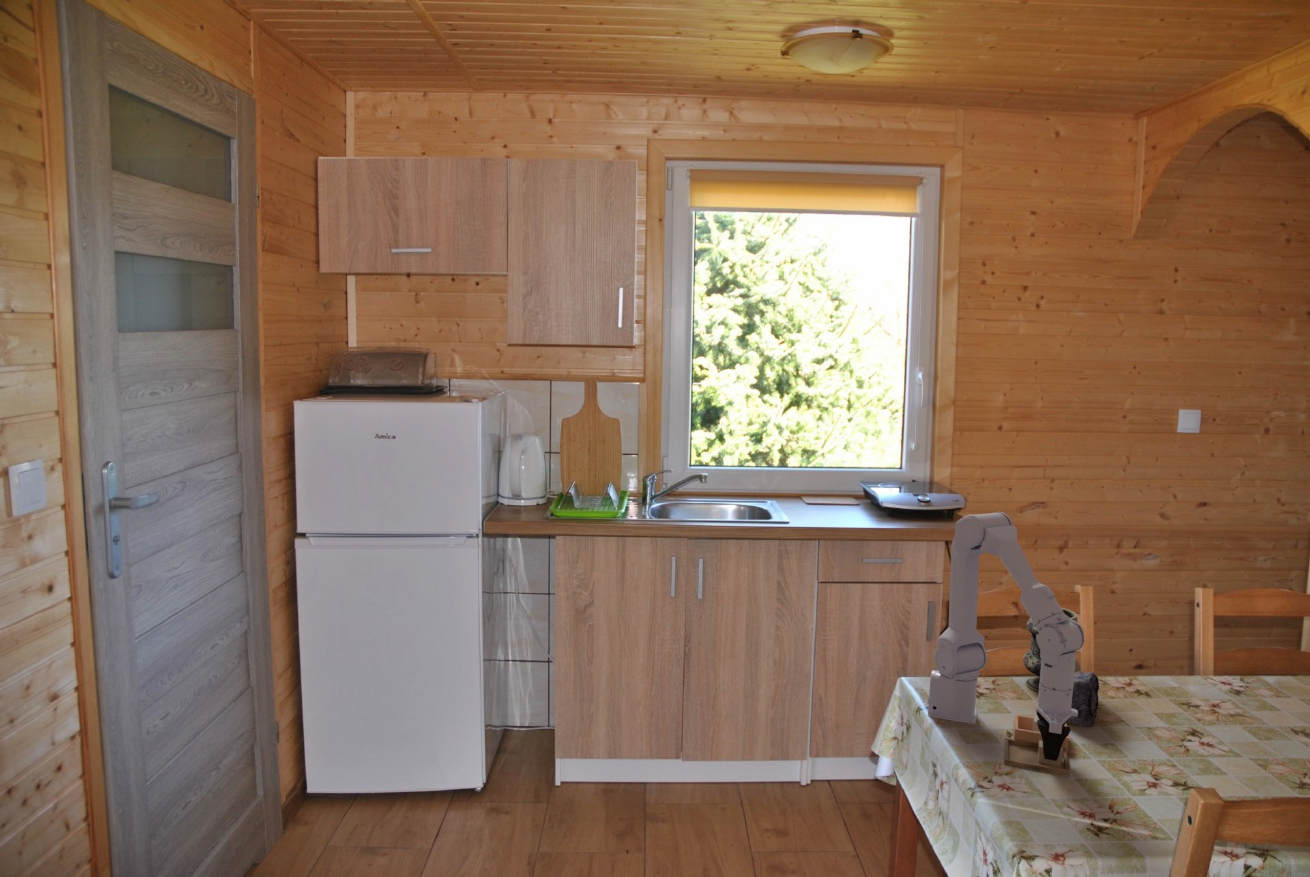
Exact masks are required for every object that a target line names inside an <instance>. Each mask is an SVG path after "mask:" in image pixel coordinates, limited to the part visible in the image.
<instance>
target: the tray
mask: <svg viewBox="0 0 1310 877" xmlns="http://www.w3.org/2000/svg"><path fill="white" fill-rule="evenodd" d="M1038 746H1039V744H1038V743H1032V742H1026V741H1020V740H1015V739H1014V738H1007V737H1005V738H1004V765H1007V766H1011V767H1012V766H1013V767H1018V768H1023V769H1029V770H1034V771H1039V772H1045V773H1051V774H1056V775H1061V776H1066V777H1070V766H1069V758H1068V752H1067V751H1066V748H1063V755H1062V766H1057V765H1052V764H1046V763H1041V762H1038Z"/></svg>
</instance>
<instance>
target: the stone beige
mask: <svg viewBox="0 0 1310 877" xmlns="http://www.w3.org/2000/svg"><path fill="white" fill-rule="evenodd" d="M1062 755H1063V748H1062V747H1061V750H1060V753H1059V756H1058V759H1057V761H1053V760H1048V759H1045V758H1044V753H1043V741H1041V740H1039V746H1038V762H1041V763H1046V764H1052V765H1057V766H1062Z"/></svg>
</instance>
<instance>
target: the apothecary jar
mask: <svg viewBox="0 0 1310 877" xmlns="http://www.w3.org/2000/svg"><path fill="white" fill-rule="evenodd" d="M1061 609H1062V610H1063V612H1064V614H1065V615H1067V616H1069V618H1070V619H1071V620H1074V621H1076V622H1077V623H1078V624H1079V625H1080V626H1081V629H1082V631H1083V633H1084V632H1085V631H1084V628H1083V627H1082V625H1081V624H1080V623H1079V622H1078V615H1077V613H1076V612H1075V611H1072V610H1070V609H1067V608H1064V607H1061ZM1026 627H1027V630H1028V631H1029V633H1031V640H1030V646H1029V649H1028V650H1027V651H1026V652H1025V653H1024V655H1023V656H1022V663H1023V665H1024V667H1025V668H1026V669H1027V671H1029V672H1030V673H1032V675H1035V677H1034V676H1033V677H1030V678H1028V679H1027V680H1026V681H1025V686H1026V687H1027V688H1028V689H1030V690H1032V691H1035V692H1036V691H1037V692H1036V693H1039V684H1040V673H1041V661H1042V660H1041V658H1040V648H1039V646H1038V644H1037V641H1036V635H1038V634H1039V632H1038V630H1037V628H1036V627H1035V625H1034V623H1033V621H1032V620H1031V618H1030V617H1029V619H1028V620H1027V623H1026ZM1074 652H1076V653H1077V651H1074ZM1079 671H1081V664H1080V662H1079V661H1078V660H1077V659H1076V662H1075V672H1074V673H1076V672H1079Z"/></svg>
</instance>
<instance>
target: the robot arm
mask: <svg viewBox="0 0 1310 877" xmlns="http://www.w3.org/2000/svg"><path fill="white" fill-rule="evenodd" d="M954 530H955V531H954V536H953V539H952V542H951V548H950V569H949V570H950V574H949V579H950V580H949V599H948V600H949V601H948V602H949V604H948V627H947V629H946V630H944V631H943V633H941V635H940V636H938V639H937V646H936V648H935V651H934V654H933V661H934V665H935V667H936V670H935V669H932V670H931V673H930V681H929V682H930V683H929V694H928V696H927V705H928V707H927V708H928V709H927V717H931V718H935V719H936V718H937V719H942V720H947V721H952V722H959V723H963V724H971V725H976V724H977V712H978V710H977V708H976V702H977V701H976V700H977V699H976V698H977V688H978V687H977V685H978V676H980V675H981V670H983V669H984V668H985V667H986V665H987V662H988V654H987V650H986V647H985V637H984V636H983V635H982V634H981V633H980V632H979V631H978V630H977V625H978V624H977V623H978V622H977V621H978V596H979V594H978V593H979V572H980V571H979V568H980V566H979V565H980V556H981V555H982V554H984V553H986V554H989V555H993V556H996V557H998V558H999V559H1000V561H1001V562H1002V564H1003V565H1004V567H1005V568H1006V570H1007V571H1008V573H1009V574H1010V575H1011V577H1012V578H1013V580H1014V582H1015V583H1016V585H1017V586H1018V587H1019V589H1020V590H1021V593H1020V598H1019V601H1020V602H1021V604H1022V606H1023V608H1024V609H1025V612H1027V615H1028V617H1029V619H1030V618H1031V620H1032V621H1033V623H1034V625H1035V627H1036V628H1037V630H1038V632H1039V634H1038V635H1036V641H1037V644H1038V646H1039V648H1040V658H1041V660H1042V661H1041V673H1040V684H1039V692H1038V697H1037V703H1036V708H1035V709H1036V710H1035V711H1036V716H1038V718H1039V720H1037V725H1038V728H1039V730H1040V733H1041V736H1042V741H1043V753H1044V758H1045V759H1048V760H1053V761H1057V759H1058V756H1059V753H1060V750H1061V747H1062V744H1063V742H1064V740H1065V739H1066V737H1067V736H1068V737H1069V735H1070V733H1071V726H1064V725H1065V724H1067V721H1068V719H1069V718H1070V717H1071V716H1075V717H1077V716H1078V711H1077V710H1076V709H1072V708H1071V704H1072V694H1073V683H1074V672H1075V662H1076V660H1077V659H1076V658H1077V651H1079V650H1081V649H1082V648H1083V646H1084V644H1085V634H1084V633H1083V631H1084V630H1083V631H1082V629H1081V626H1082V625H1081V624H1080V623H1079V622H1078V623H1079V624H1080V625H1081V626H1080V625H1079V624H1078V623H1077V622H1076V621H1074V620H1071V619H1070V618H1069V616H1067V615H1065V614H1064V612H1063V610H1062V609H1061V608H1062V607H1061V606H1060V603H1059V602H1058V600H1057V598H1056V597H1055V596H1056V594H1055V593H1054V591H1053V589H1050V587H1049V586H1048V585H1046V584H1043V583H1041V582H1039V580H1038V579H1037V577H1036V575H1035V573H1034V571H1033V569H1032V567H1031V565H1030V562H1029V561H1028V559H1027V557H1026V555H1025V553H1024V551H1023V549H1022V547H1021V545H1020V544H1019V541H1018V528H1016V526H1015V524H1014V523H1013V520H1012V519H1011V517H1010V516H1009V514H1007V513H1005V512H1002V511H995V512H991V513H989V512H988V513H983V514H982V513H980V514H965V515H964V516H962V517H961V518H960V519H958V520H957V521H956V522H955V526H954ZM1074 651H1076V652H1074Z"/></svg>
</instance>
